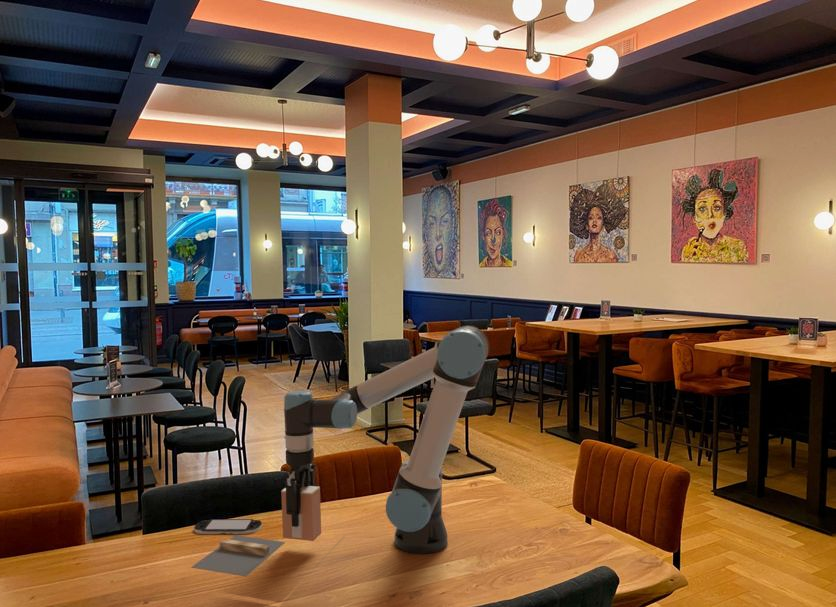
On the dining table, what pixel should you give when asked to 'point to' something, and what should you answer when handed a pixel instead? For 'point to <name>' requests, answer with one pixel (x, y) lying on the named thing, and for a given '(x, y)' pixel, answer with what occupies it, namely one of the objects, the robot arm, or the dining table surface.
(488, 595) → the dining table surface
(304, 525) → the block
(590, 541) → the dining table surface
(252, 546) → the bar
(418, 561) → the dining table surface
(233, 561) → the mat
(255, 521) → the gaming console
